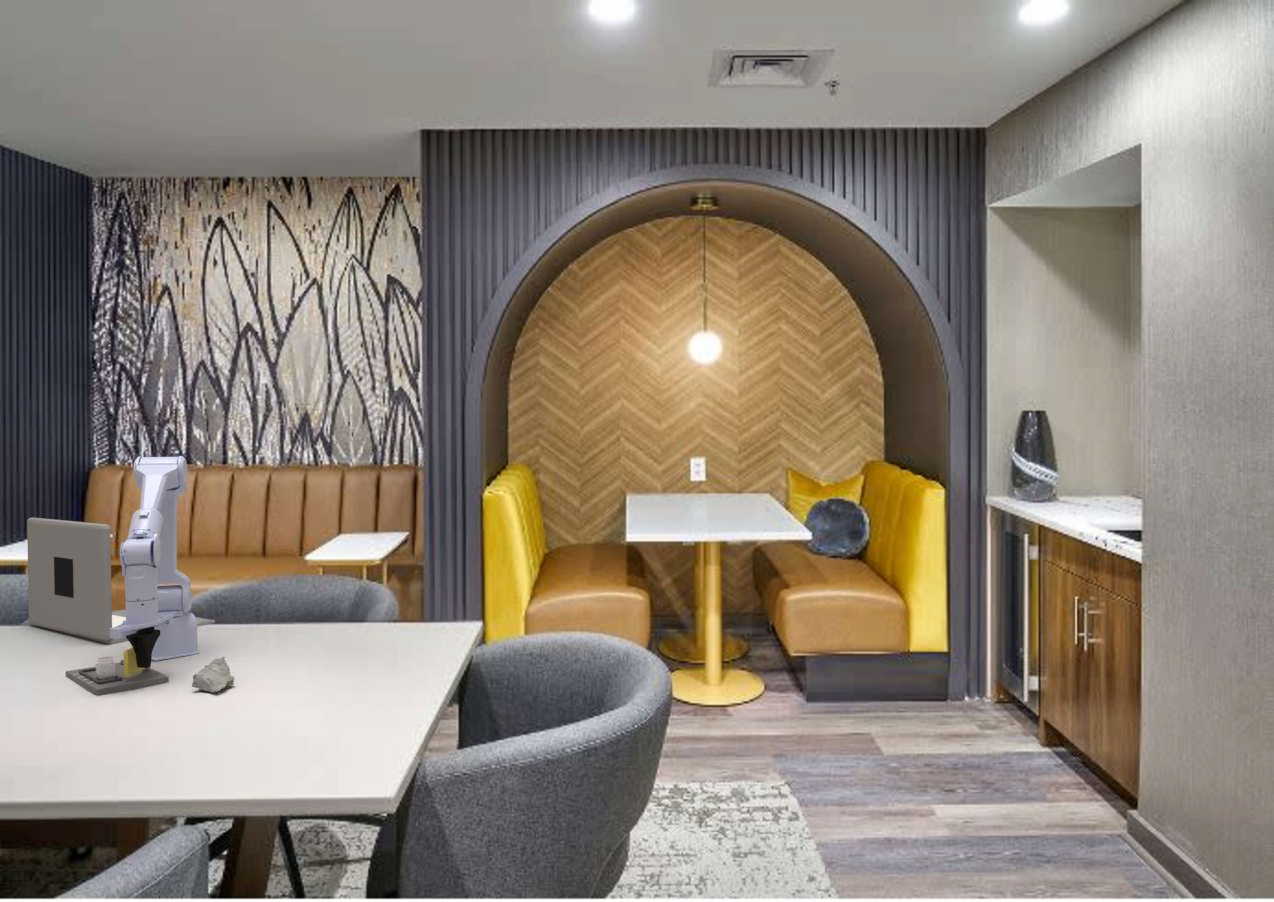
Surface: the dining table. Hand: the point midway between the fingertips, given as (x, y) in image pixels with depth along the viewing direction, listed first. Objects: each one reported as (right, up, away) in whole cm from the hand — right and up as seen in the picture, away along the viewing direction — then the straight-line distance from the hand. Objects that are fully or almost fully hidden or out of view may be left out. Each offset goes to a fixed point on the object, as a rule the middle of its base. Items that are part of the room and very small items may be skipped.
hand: (143, 667), depth 195 cm
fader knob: (-7, -2, -1) cm, 7 cm away
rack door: (-3, -1, +1) cm, 3 cm away
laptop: (-31, -3, +52) cm, 60 cm away
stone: (+13, -5, +2) cm, 14 cm away
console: (-7, -3, +3) cm, 9 cm away
